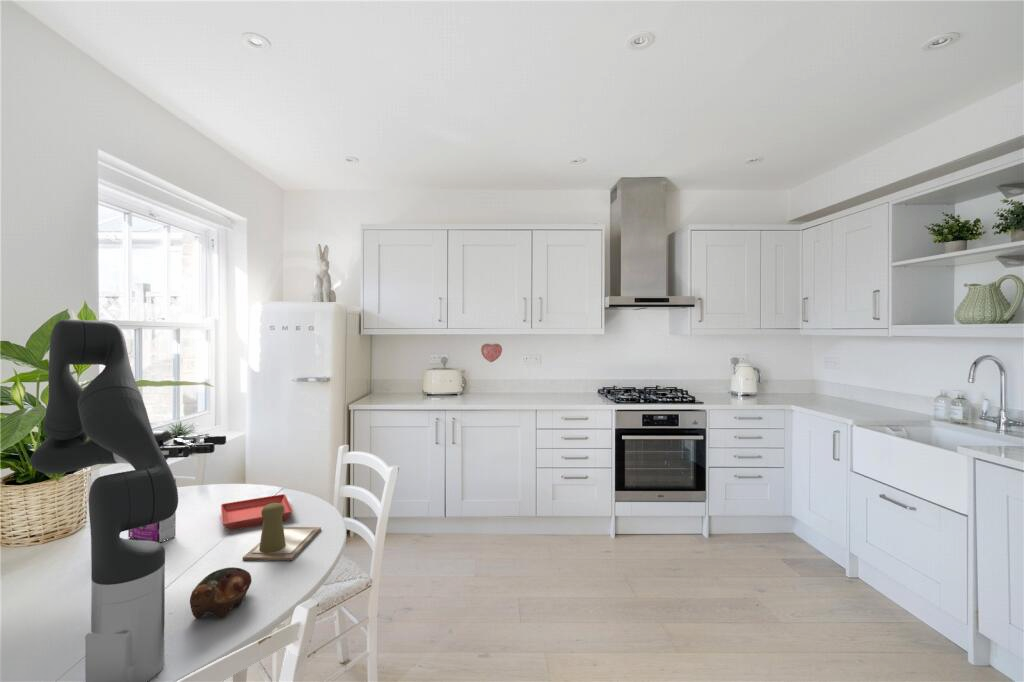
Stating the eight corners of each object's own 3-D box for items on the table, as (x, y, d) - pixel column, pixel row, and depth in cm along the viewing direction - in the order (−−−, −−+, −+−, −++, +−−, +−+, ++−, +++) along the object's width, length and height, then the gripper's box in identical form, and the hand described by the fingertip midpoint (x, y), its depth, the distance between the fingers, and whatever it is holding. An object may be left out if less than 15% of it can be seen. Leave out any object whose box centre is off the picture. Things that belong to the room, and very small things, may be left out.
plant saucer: (220, 513, 143) (220, 503, 143) (285, 503, 153) (285, 493, 153) (221, 535, 128) (222, 523, 128) (293, 522, 138) (293, 511, 138)
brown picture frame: (291, 560, 114) (291, 556, 114) (242, 560, 113) (242, 556, 113) (320, 529, 132) (321, 526, 132) (278, 529, 131) (278, 525, 131)
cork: (275, 553, 115) (275, 509, 115) (253, 551, 116) (253, 508, 116) (290, 542, 121) (291, 501, 121) (269, 540, 122) (270, 499, 122)
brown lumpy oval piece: (170, 634, 85) (170, 590, 86) (219, 594, 101) (219, 556, 101) (223, 632, 86) (223, 588, 86) (265, 592, 101) (264, 554, 101)
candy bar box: (126, 538, 124) (126, 477, 124) (145, 531, 129) (146, 472, 128) (158, 544, 121) (158, 482, 121) (176, 536, 126) (177, 476, 125)
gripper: (128, 438, 104) (210, 434, 108) (157, 425, 118) (229, 423, 122) (127, 471, 104) (210, 466, 109) (157, 455, 118) (229, 451, 122)
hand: (220, 443), depth 115 cm, fingers open, 8 cm apart
